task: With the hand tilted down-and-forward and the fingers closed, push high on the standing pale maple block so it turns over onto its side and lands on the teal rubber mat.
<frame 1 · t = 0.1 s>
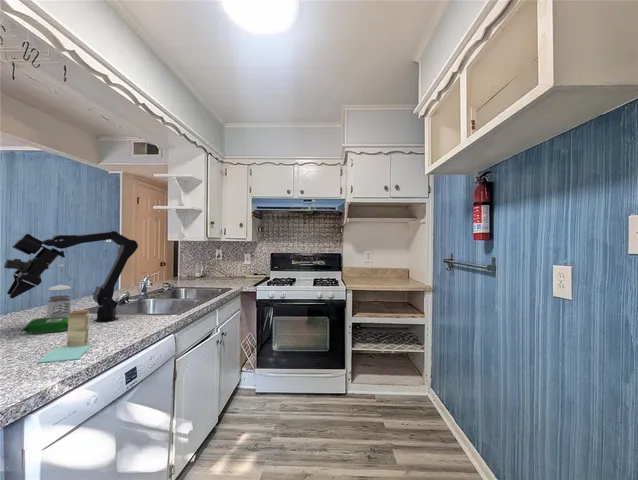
hand: (9, 296, 108), 15 cm above the worktop, tool tilted 35°, fingers open, 9 cm apart
french press: (61, 317, 133), on the worktop
snack package: (50, 331, 114), on the worktop
maple block: (77, 345, 101), on the worktop
rubber mat: (66, 354, 93), on the worktop
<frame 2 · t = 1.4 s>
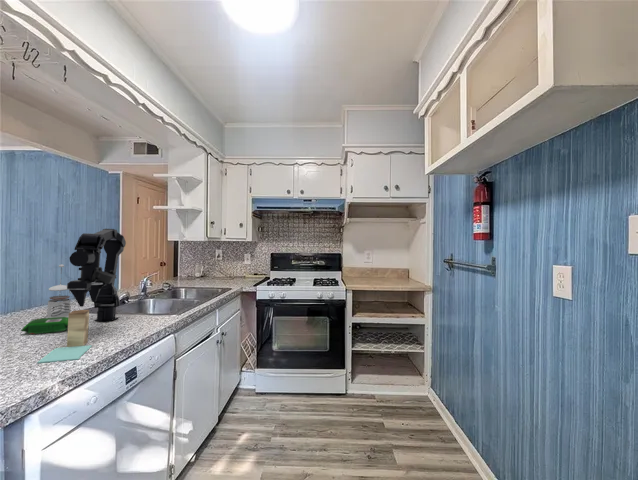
hand: (87, 304, 113), 12 cm above the worktop, tool pointing down, fingers open, 9 cm apart
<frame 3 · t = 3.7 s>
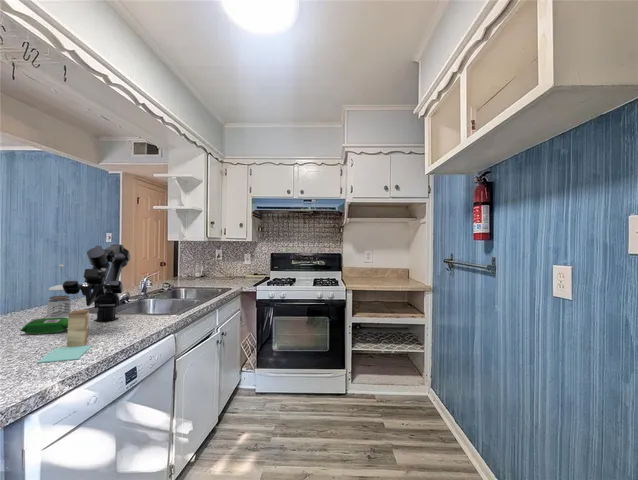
hand: (87, 305, 109), 12 cm above the worktop, tool tilted 45°, fingers closed
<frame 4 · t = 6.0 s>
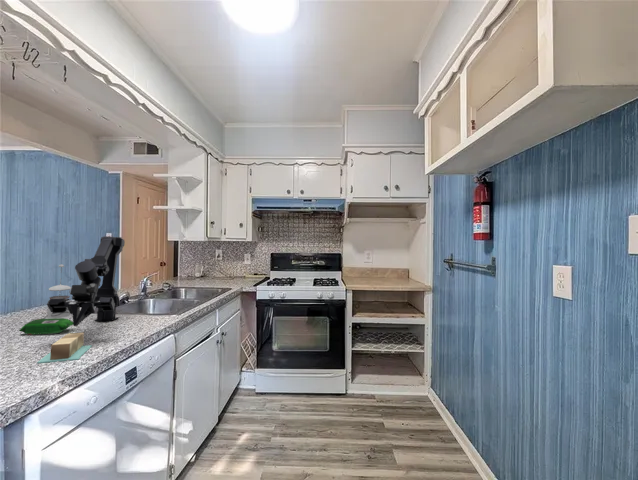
hand: (75, 325, 99), 8 cm above the worktop, tool tilted 45°, fingers closed
maple block: (75, 339, 100), point 3 cm above the worktop, tilted 90°, touching rubber mat
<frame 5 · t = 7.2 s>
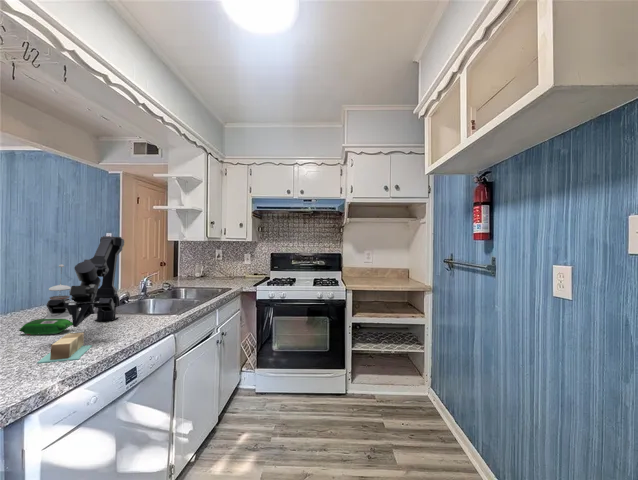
hand: (74, 326, 98), 8 cm above the worktop, tool tilted 45°, fingers closed
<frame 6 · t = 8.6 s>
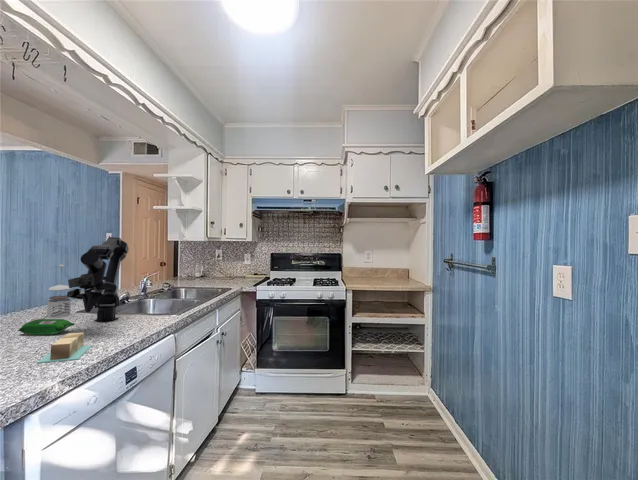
hand: (87, 312, 110), 10 cm above the worktop, tool tilted 25°, fingers closed
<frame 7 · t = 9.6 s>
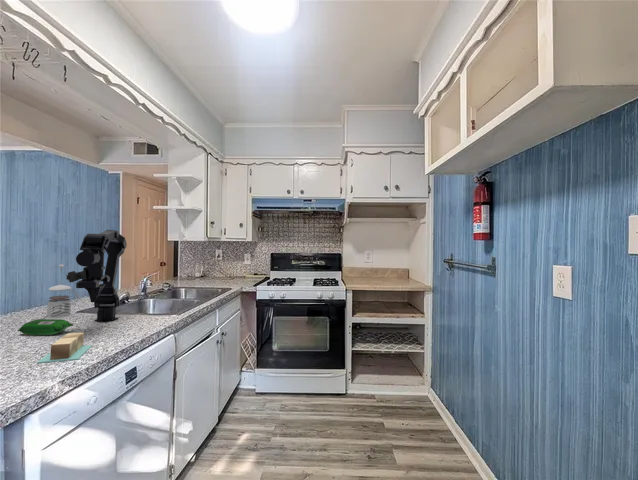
hand: (93, 302, 116), 12 cm above the worktop, tool pointing down, fingers closed
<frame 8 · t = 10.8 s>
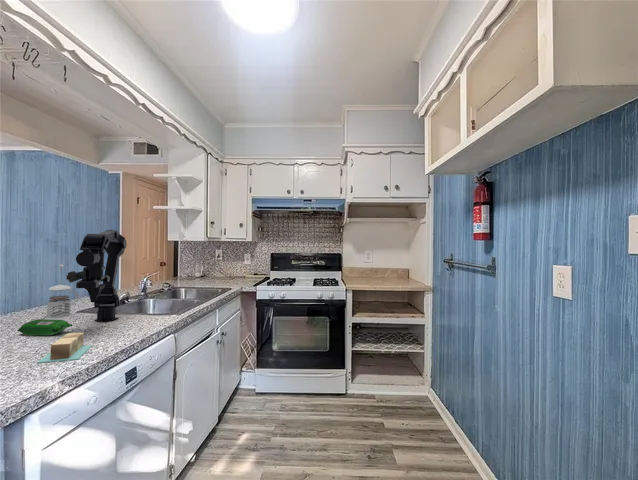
hand: (93, 302, 116), 12 cm above the worktop, tool pointing down, fingers closed
at the end: maple block tilted 90°; maple block 6.9 cm from the rubber mat (horizontally); maple block point 2.6 cm above the worktop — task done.
